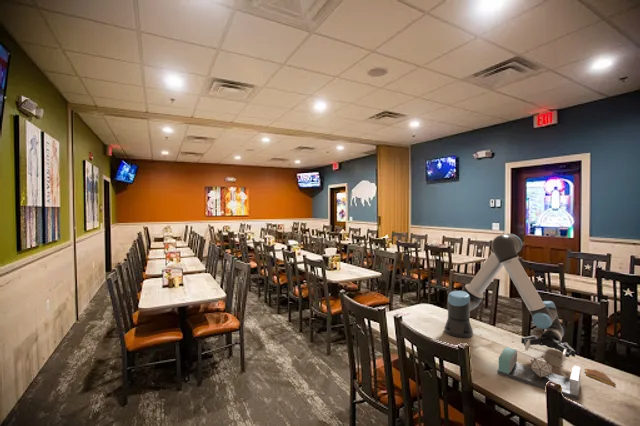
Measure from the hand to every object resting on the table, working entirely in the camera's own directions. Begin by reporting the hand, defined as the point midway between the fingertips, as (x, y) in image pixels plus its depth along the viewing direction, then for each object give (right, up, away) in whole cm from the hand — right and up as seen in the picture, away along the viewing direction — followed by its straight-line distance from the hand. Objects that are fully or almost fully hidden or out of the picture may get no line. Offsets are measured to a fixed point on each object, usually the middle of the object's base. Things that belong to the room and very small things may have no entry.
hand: (544, 352), depth 138 cm
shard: (+22, -10, -4) cm, 25 cm away
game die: (-6, -8, -6) cm, 11 cm away
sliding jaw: (-15, -8, +2) cm, 17 cm away
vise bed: (-7, -9, -5) cm, 13 cm away
